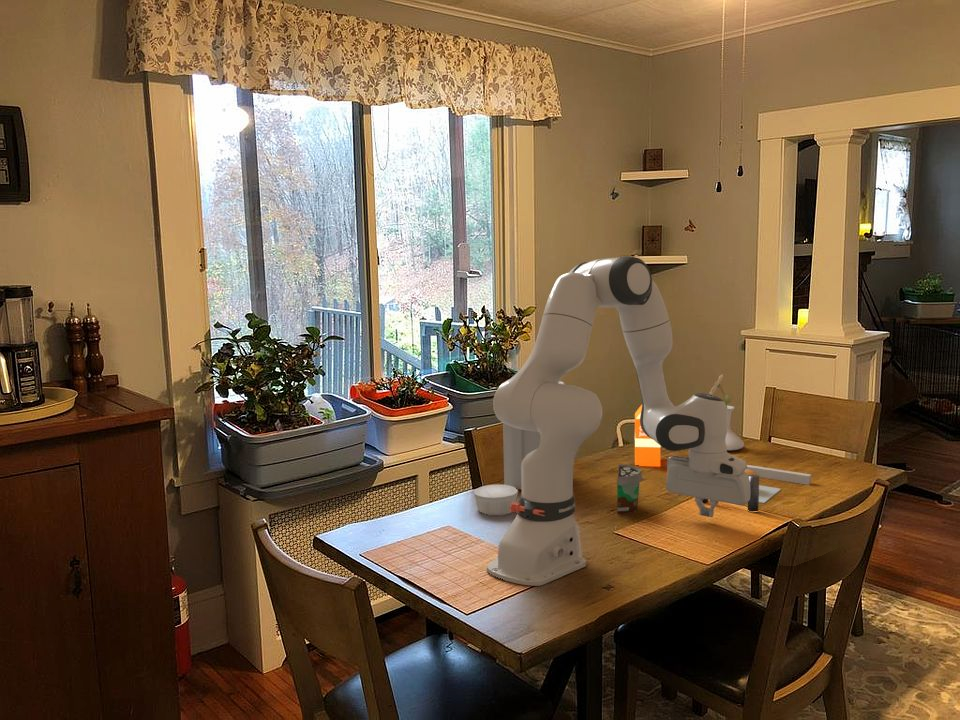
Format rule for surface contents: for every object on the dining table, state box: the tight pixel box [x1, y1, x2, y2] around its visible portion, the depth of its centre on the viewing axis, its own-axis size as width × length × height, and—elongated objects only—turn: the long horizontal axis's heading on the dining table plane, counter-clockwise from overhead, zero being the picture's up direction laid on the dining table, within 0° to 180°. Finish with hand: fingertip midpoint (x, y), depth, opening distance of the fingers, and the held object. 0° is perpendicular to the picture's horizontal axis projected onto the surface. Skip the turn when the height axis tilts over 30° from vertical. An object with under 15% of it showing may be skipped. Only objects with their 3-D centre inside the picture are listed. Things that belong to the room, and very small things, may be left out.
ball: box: [744, 470, 757, 476], centre depth 218 cm, size 6×6×6 cm
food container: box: [616, 463, 643, 515], centre depth 207 cm, size 12×6×10 cm, turn 168°
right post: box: [747, 475, 760, 512], centre depth 203 cm, size 3×3×9 cm
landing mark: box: [759, 484, 782, 504], centre depth 219 cm, size 14×14×1 cm
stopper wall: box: [746, 464, 812, 486], centre depth 231 cm, size 2×24×2 cm, turn 52°
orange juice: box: [634, 404, 662, 467], centre depth 248 cm, size 8×9×20 cm
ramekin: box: [473, 484, 519, 516], centre depth 209 cm, size 11×11×5 cm
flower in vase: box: [708, 373, 745, 451], centre depth 260 cm, size 13×11×25 cm
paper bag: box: [502, 380, 565, 490], centre depth 227 cm, size 19×15×28 cm
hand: (706, 515), depth 197 cm, fingers closed
